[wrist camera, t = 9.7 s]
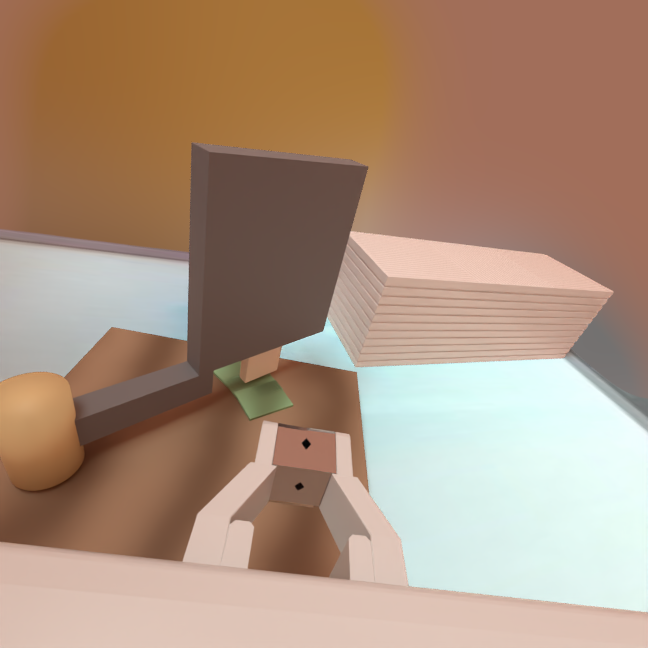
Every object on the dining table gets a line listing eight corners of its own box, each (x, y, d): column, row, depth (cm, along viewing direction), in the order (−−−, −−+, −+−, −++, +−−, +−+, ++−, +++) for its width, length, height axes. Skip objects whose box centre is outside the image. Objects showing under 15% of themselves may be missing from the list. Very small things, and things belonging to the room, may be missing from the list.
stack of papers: (507, 316, 56) (545, 254, 51) (562, 359, 48) (614, 291, 43) (323, 312, 44) (345, 230, 39) (354, 369, 36) (388, 276, 31)
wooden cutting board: (-65, 563, 17) (-88, 534, 15) (114, 350, 30) (111, 325, 29) (364, 608, 19) (379, 587, 17) (349, 392, 33) (357, 370, 31)
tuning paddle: (16, 503, 17) (-150, 126, 8) (3, 455, 19) (-148, 100, 10) (321, 365, 31) (377, 170, 22) (297, 345, 32) (341, 156, 24)
